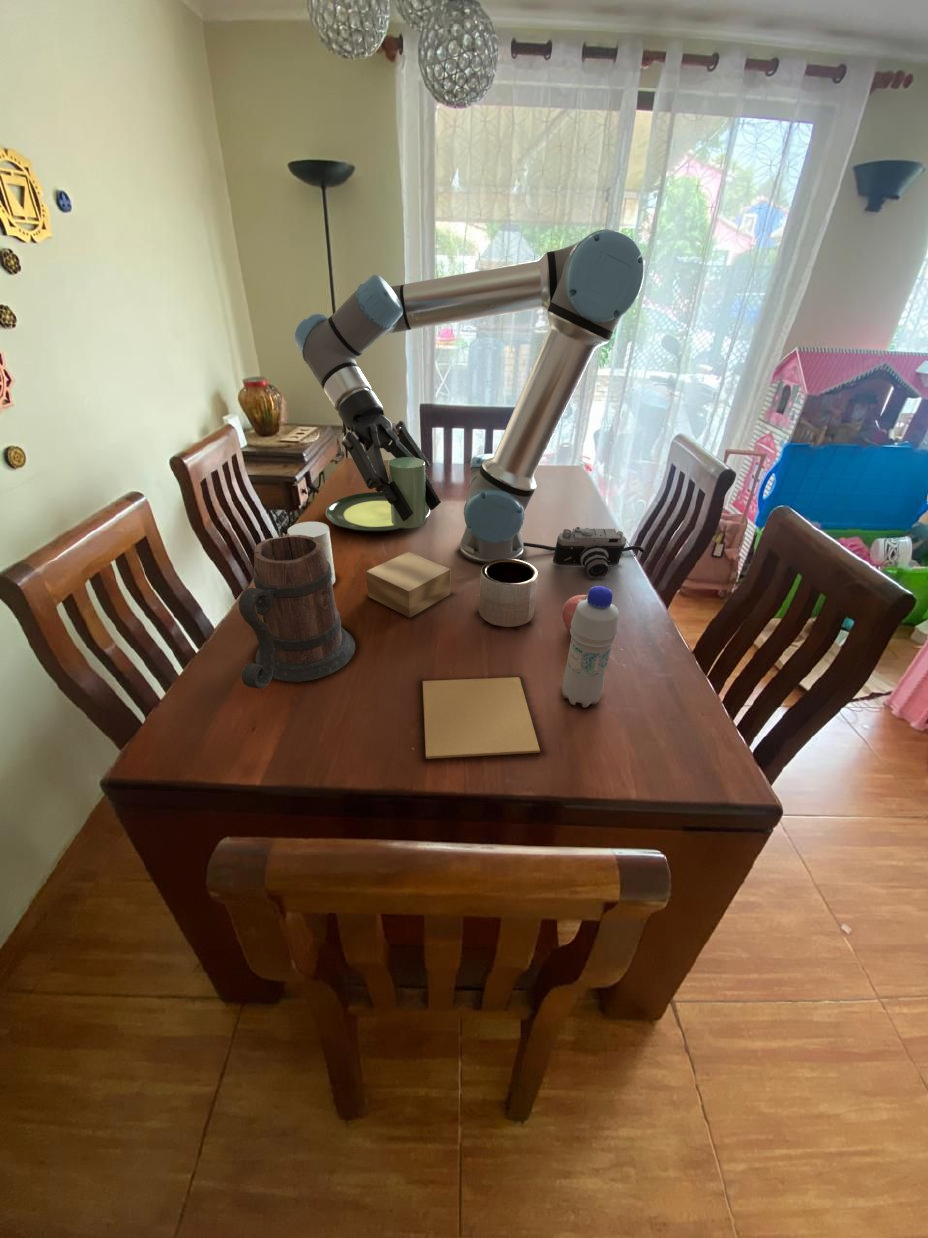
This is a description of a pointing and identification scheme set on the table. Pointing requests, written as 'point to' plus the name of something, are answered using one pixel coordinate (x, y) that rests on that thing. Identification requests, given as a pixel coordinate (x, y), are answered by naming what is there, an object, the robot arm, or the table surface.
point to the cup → (319, 533)
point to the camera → (590, 549)
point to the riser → (408, 583)
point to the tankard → (293, 613)
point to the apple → (571, 609)
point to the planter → (507, 592)
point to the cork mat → (477, 718)
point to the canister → (409, 489)
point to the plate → (363, 512)
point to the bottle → (590, 647)
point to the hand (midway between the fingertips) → (422, 511)
